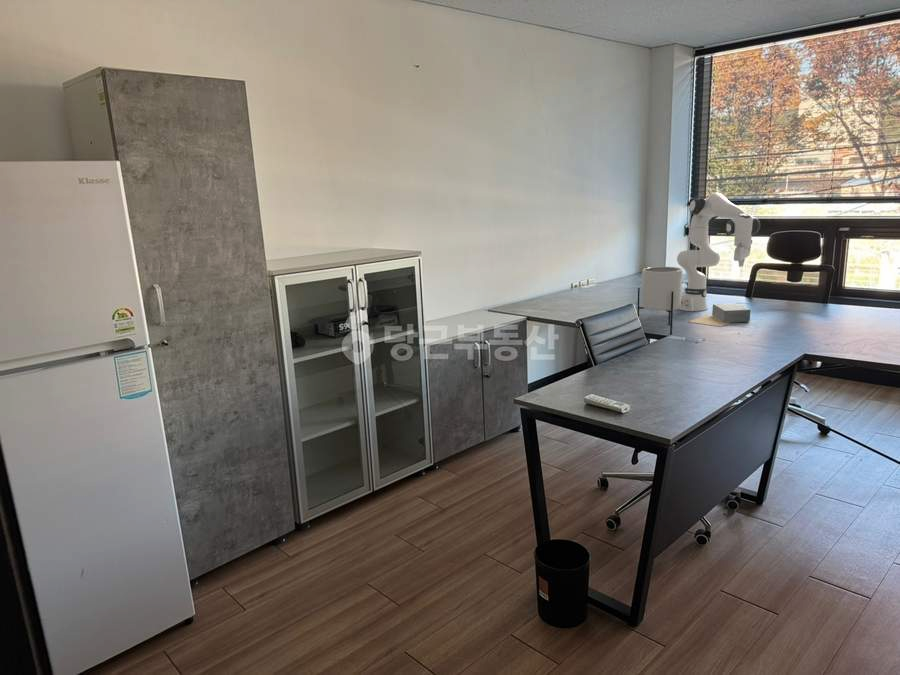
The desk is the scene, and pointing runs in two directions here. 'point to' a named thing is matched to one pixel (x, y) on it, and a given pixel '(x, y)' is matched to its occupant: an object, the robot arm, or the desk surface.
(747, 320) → the hard drive box
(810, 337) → the desk surface
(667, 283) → the plant pot with stand
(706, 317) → the cork mat
